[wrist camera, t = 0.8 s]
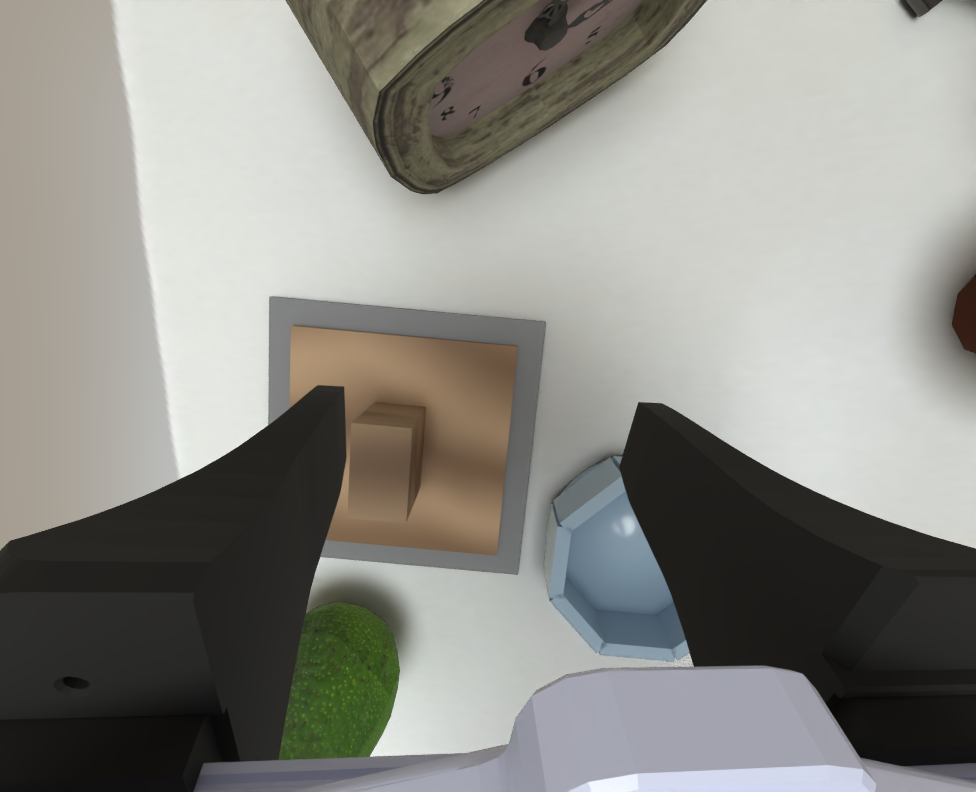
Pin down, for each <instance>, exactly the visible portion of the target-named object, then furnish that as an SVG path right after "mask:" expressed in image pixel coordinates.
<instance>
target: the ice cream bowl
mask: <svg viewBox="0 0 976 792" xmlns="http://www.w3.org/2000/svg"><path fill="white" fill-rule="evenodd" d="M952 325H953V327H954V329H955V331H956V333H957V335H958V337H959V339H960V341H961V343H962V344H963V346H964V348H965V349H966V350H969V351H971V352H974V353H976V275H975V276H974V278H973V279H972V280H971V281H970V282H969V283H968V284H967V285H966V286H965V287H964V288H963V289H962V290H961V292H960V293H959V294H958V297H957V302H956V307H955V312H954V317H953V322H952Z"/></svg>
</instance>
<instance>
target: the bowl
mask: <svg viewBox="0 0 976 792" xmlns="http://www.w3.org/2000/svg"><path fill="white" fill-rule="evenodd" d="M621 459H622V456H620V457H619V456H613V458H610V457H609V458H608V459H607V460H605V461H602V462H599V463H597V464H595V465H593V466H591V467H589V468H588V469H586V470H585V471H583V472H582V473H580V474H579V475H578V476H577V477H575V478H574V479H573V480H572V481H571V482H570V483H569V484H568V485H567V486H566V487H565V489H564V490H563V491H562V492H561V494H560V495H559V496H558V497H557V498H555V499H554V500H553V502H554V504H551V510H550V516H549V519H548V523H547V528H546V551H545V559H544V574H545V580H546V585H547V591H548V597H549V599H550V602H551V603H552V604H553V605H554V606H555V607H556V609H557V610H558V611H559V612H560V613H561V614H562V615H563V616H564V618H565V619H566V620H567V621H568V622H569V623H570V624H571V625H572V627H573V628H574V629H575V630H576V631H577V632H578V633H579V634H580V636H581V637H582V638H583V639H584V640H585V641H586V642H587V643H588V644H589V646H590V647H591V648H592V649H593V650H594V651H595V652H596V653H597V652H599V654H600V655H605V656H616V657H627V658H639V659H650V660H661V661H672V662H674V659H675V658H676V659H677V660H680V659H681V658H683V657H684V656H686V655H687V654H689V653H690V652H689V649H688V645H687V642H686V639H685V635H684V632H683V629H682V626H681V623H680V620H679V617H678V614H677V611H676V608H675V605H674V602H673V599H672V596H671V593H670V591H669V588H668V586H667V584H666V581H665V579H664V576H663V574H662V572H661V570H660V568H659V565H658V563H657V561H656V559H655V557H654V555H653V553H652V550H651V548H650V546H649V544H648V542H647V540H646V538H645V535H644V533H643V531H642V529H641V527H640V525H639V523H638V520H637V518H636V516H635V514H634V512H633V509H632V507H631V505H630V502H629V500H628V497H627V493H626V490H625V487H624V483H623V480H622V476H621V472H620V468H619V466H620V463H621Z"/></svg>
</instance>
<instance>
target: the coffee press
mask: <svg viewBox="0 0 976 792" xmlns="http://www.w3.org/2000/svg"><path fill="white" fill-rule="evenodd" d="M941 1H942V0H906V2H907V3H908V4H909V6H910V7H911V8H912V9H913V11H914V12H915V13H916V15H917V16H918V17H921V16H922V15H924V14H925V13H927V12H928V11H929V10H931V9H932V8H933V7H935V6H936V5H937V4H938V3H940V2H941Z"/></svg>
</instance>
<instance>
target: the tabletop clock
mask: <svg viewBox="0 0 976 792" xmlns="http://www.w3.org/2000/svg"><path fill="white" fill-rule="evenodd" d="M706 1H707V0H286V2H287V4H288V5H289V7H290V9H291V10H292V12H293V14H294V15H295V17H296V19H297V20H298V22H299V24H300V25H301V27H302V29H303V30H304V32H305V34H306V35H307V37H308V39H309V40H310V42H311V44H312V45H313V47H314V49H315V50H316V52H317V54H318V55H319V57H320V59H321V60H322V62H323V64H324V65H325V67H326V69H327V70H328V72H329V74H330V75H331V77H332V79H333V80H334V82H335V84H336V85H337V87H338V89H339V91H340V92H341V94H342V96H343V97H344V99H345V101H346V102H347V104H348V106H349V107H350V109H351V111H352V112H353V114H354V116H355V117H356V119H357V121H358V122H359V124H360V126H361V127H362V129H363V131H364V132H365V134H366V136H367V137H368V139H369V141H370V142H371V144H372V146H373V147H374V149H375V151H376V152H377V154H378V156H379V157H380V159H381V161H382V162H383V164H384V166H385V167H386V169H387V171H388V172H389V174H390V176H391V177H392V178H394V179H395V180H396V181H398V182H399V183H401V184H402V185H403V186H405V187H406V188H408V189H409V190H410V191H413V192H416V193H420V194H432V193H438V192H440V191H442V190H444V189H446V188H448V187H450V186H452V185H454V184H456V183H458V182H460V181H461V180H463V179H465V178H467V177H468V176H470V175H472V174H474V173H475V172H477V171H479V170H480V169H482V168H484V167H485V166H487V165H489V164H490V163H492V162H493V161H495V160H497V159H498V158H500V157H501V156H503V155H505V154H506V153H508V152H509V151H511V150H513V149H514V148H516V147H517V146H519V145H521V144H522V143H524V142H525V141H527V140H529V139H530V138H532V137H534V136H535V135H537V134H538V133H540V132H542V131H543V130H545V129H546V128H548V127H549V126H551V125H552V124H554V123H555V122H557V121H558V120H560V119H561V118H563V117H564V116H566V115H567V114H569V113H570V112H572V111H573V110H575V109H576V108H578V107H579V106H581V105H582V104H584V103H585V102H587V101H588V100H590V99H591V98H593V97H594V96H596V95H597V94H599V93H600V92H602V91H603V90H605V89H606V88H608V87H609V86H611V85H612V84H614V83H615V82H617V81H618V80H620V79H621V78H623V77H624V76H625V75H627V74H628V73H630V72H631V71H632V70H634V69H635V68H637V67H638V66H639V65H641V64H642V63H643V62H645V61H646V60H647V59H649V58H650V57H651V56H652V55H654V54H655V53H656V52H658V51H659V50H660V49H662V48H663V47H664V46H666V45H667V44H668V43H669V42H670V41H671V39H672V38H673V37H674V36H675V35H676V34H677V33H678V32H679V31H680V30H681V29H682V28H683V27H684V26H685V25H686V24H687V23H688V22H689V21H690V20H691V18H692V17H693V16H694V15H695V14H696V13H697V12H698V10H699V9H700V8H701V7H702V6H703V4H704V3H705V2H706Z"/></svg>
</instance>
